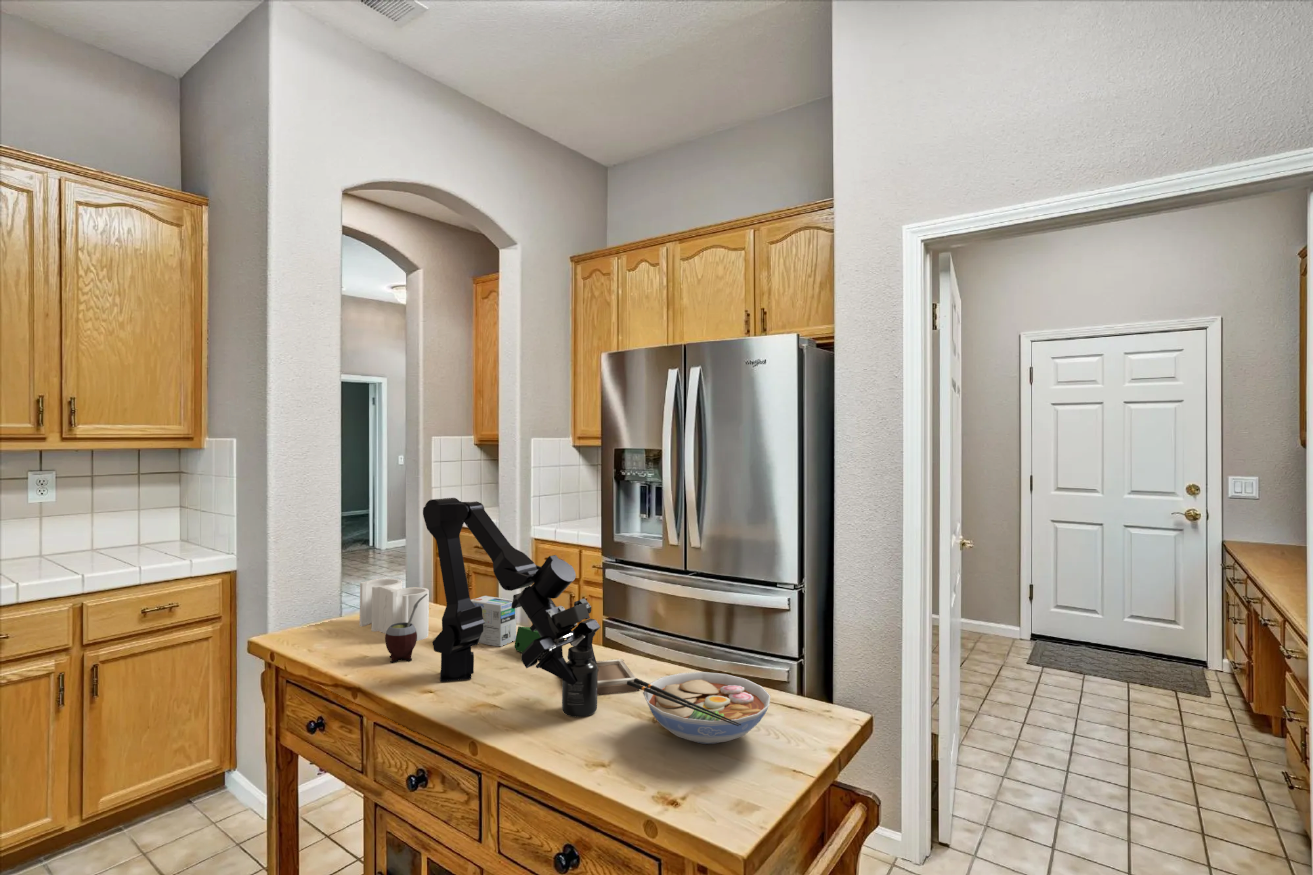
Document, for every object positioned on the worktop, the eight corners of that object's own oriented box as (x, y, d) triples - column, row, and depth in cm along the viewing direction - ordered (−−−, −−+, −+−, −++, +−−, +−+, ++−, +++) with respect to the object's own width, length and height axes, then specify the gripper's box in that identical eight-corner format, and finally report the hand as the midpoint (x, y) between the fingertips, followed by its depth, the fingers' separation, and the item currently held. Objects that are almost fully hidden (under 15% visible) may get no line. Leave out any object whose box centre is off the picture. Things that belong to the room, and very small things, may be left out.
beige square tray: (573, 697, 133) (573, 685, 133) (562, 673, 147) (562, 663, 147) (639, 690, 137) (639, 679, 137) (623, 668, 151) (623, 658, 151)
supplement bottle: (604, 710, 127) (605, 649, 127) (577, 721, 122) (578, 657, 122) (581, 700, 131) (582, 641, 132) (554, 710, 126) (555, 648, 127)
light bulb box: (517, 640, 170) (517, 599, 170) (500, 647, 164) (501, 604, 164) (484, 634, 175) (485, 594, 175) (467, 641, 169) (468, 599, 169)
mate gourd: (378, 661, 152) (379, 597, 152) (402, 651, 160) (403, 590, 160) (403, 666, 150) (404, 600, 150) (427, 655, 157) (428, 593, 157)
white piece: (437, 636, 173) (437, 590, 173) (402, 644, 165) (403, 596, 166) (390, 618, 189) (391, 576, 189) (356, 625, 182) (357, 581, 182)
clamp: (552, 672, 159) (569, 640, 159) (533, 672, 155) (550, 640, 154) (528, 643, 168) (544, 612, 167) (510, 642, 163) (526, 611, 162)
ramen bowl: (801, 739, 116) (802, 693, 116) (717, 784, 100) (718, 731, 100) (697, 697, 134) (697, 658, 134) (612, 731, 118) (612, 685, 118)
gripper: (534, 597, 121) (581, 668, 115) (593, 579, 137) (637, 641, 131) (501, 632, 125) (545, 703, 119) (563, 611, 141) (604, 672, 135)
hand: (586, 678), depth 126 cm, fingers closed on supplement bottle, 7 cm apart
